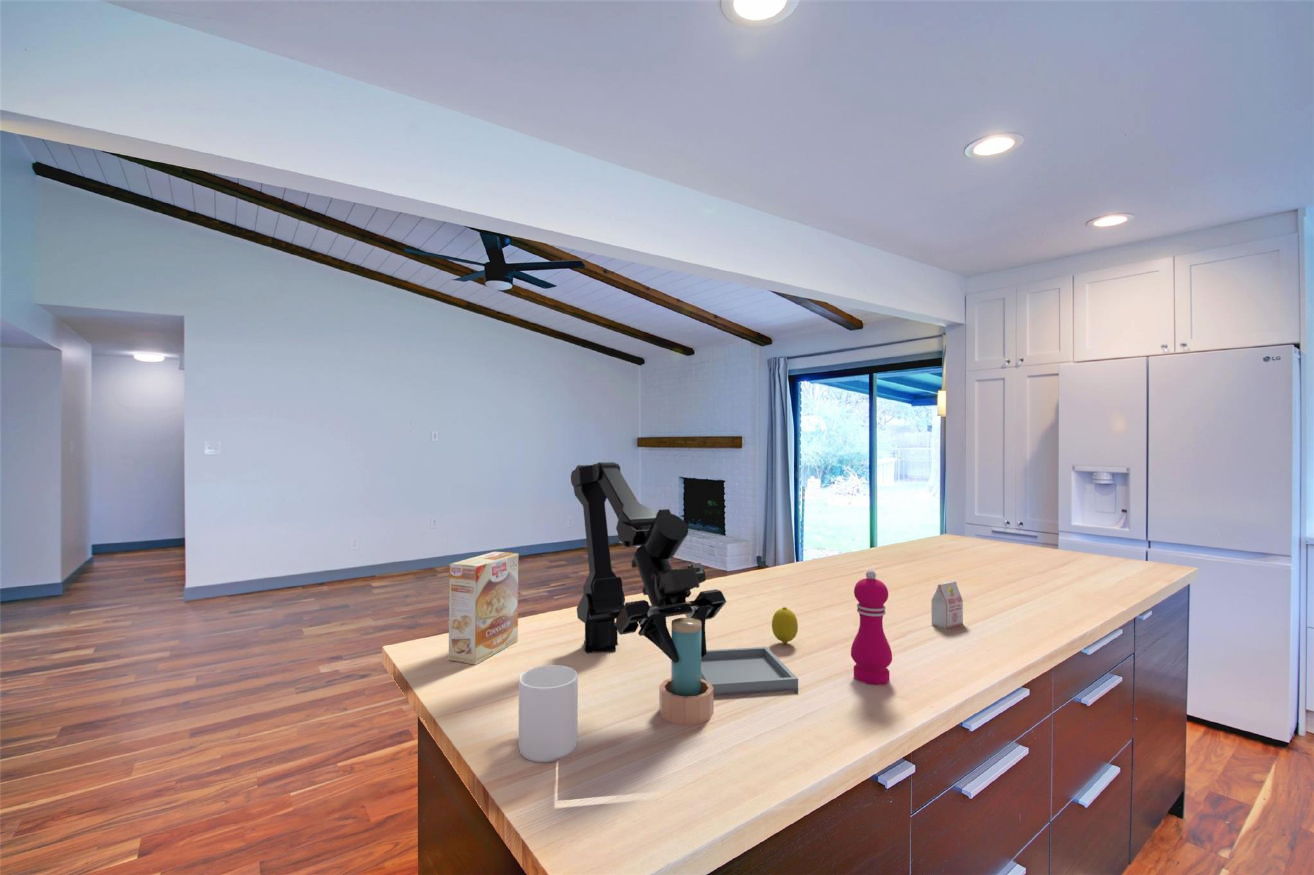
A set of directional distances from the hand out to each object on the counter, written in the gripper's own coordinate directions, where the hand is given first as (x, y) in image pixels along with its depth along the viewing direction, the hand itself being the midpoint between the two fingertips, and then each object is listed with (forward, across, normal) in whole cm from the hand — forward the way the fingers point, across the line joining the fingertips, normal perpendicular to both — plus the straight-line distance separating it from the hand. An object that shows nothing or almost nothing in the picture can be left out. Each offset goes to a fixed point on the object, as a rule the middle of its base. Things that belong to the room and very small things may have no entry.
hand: (690, 658), depth 91 cm
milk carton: (-1, +80, +14) cm, 81 cm away
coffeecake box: (-26, -22, +40) cm, 52 cm away
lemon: (-6, +36, +20) cm, 42 cm away
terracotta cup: (+6, 0, +8) cm, 10 cm away
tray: (0, +17, +13) cm, 21 cm away
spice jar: (+4, 0, +6) cm, 7 cm away
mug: (+4, -23, +10) cm, 25 cm away
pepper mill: (+9, +38, +5) cm, 39 cm away
